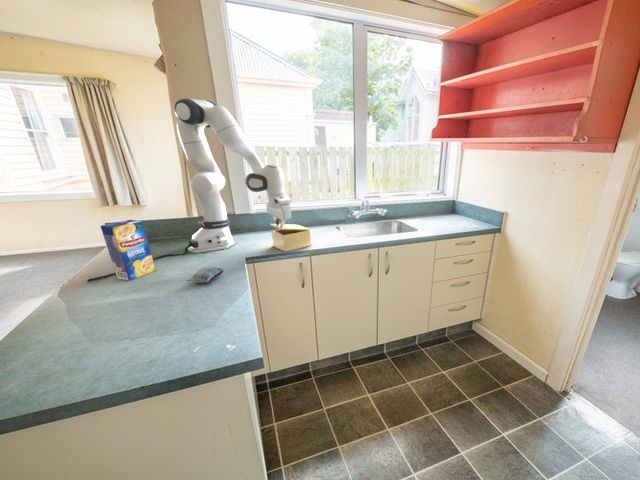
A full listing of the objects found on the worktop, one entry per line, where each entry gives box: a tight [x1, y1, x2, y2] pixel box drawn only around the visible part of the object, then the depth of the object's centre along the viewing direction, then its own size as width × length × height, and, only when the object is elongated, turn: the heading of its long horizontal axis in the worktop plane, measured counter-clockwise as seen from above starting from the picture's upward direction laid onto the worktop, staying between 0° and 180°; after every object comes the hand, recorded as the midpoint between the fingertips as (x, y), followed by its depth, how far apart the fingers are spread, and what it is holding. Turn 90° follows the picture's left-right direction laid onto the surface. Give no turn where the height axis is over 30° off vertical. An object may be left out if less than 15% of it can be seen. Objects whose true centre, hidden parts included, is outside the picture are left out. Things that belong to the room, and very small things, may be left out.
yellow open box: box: [271, 229, 312, 252], centre depth 162 cm, size 16×13×9 cm
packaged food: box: [185, 266, 224, 284], centre depth 119 cm, size 9×12×5 cm
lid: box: [269, 217, 311, 231], centre depth 159 cm, size 16×13×5 cm
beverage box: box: [100, 219, 157, 281], centre depth 121 cm, size 7×11×22 cm, turn 164°
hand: (279, 224), depth 155 cm, fingers closed on lid, 5 cm apart
